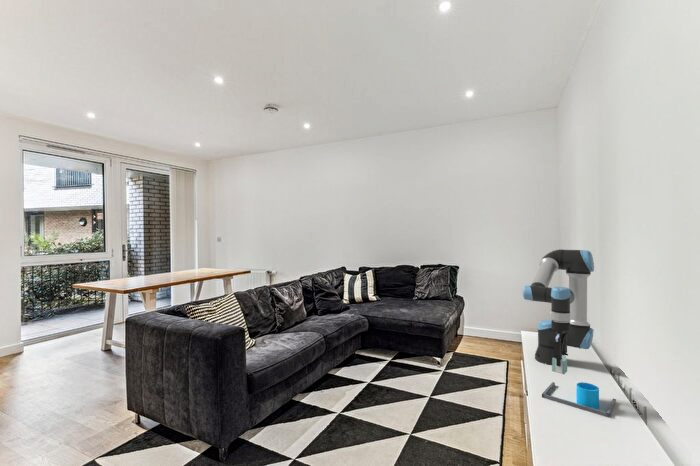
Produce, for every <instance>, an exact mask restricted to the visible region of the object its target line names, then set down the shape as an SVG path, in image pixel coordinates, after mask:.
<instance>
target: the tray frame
mask: <svg viewBox="0 0 700 466" xmlns="http://www.w3.org/2000/svg"><path fill="white" fill-rule="evenodd" d="M555 386H556V382H554V381H553V382H551V383H550V384H549V386H547V388H546V389H545V390H544V391H542V393H541V398H543V399H546V400H549V401H553V402H557V403H559V404H563V405H565V406H570V407H573V408H576V409H579V410H582V411H587V412H590V413H593V414H595V415H599V416H602V417H605V418H610V416H611V415H612V412H613V410H614V408H615V405H616V403H617V398H614V397H613V398H612V400H611V402H610V404H609V407H608V409H607V411H605V410H600V409H594V408H591V407H587V406H584V405H580V404H577V402H573V401H569V400H567V399H563V398H559V397H556V396H554V395H549V394H550V393H551V391H552V390H553V389H554V388H555Z"/></svg>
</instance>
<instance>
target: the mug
mask: <svg viewBox="0 0 700 466" xmlns="http://www.w3.org/2000/svg"><path fill="white" fill-rule="evenodd" d="M576 403H577V404H580V405H584V406H587V407H591V408H594V409H597V410H600V387H598V386H597V385H595V384H593V383H588V382H577V383H576Z"/></svg>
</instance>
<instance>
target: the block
mask: <svg viewBox="0 0 700 466" xmlns="http://www.w3.org/2000/svg"><path fill="white" fill-rule="evenodd" d="M562 359H563V373H562V374H561V373H559V374H561V375H565V374H566V373H567V372H568V358H567V357H566V358H563V357H562ZM551 372H554V373H557V372H556V367H555V358H552V365H551Z"/></svg>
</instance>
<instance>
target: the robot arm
mask: <svg viewBox="0 0 700 466" xmlns="http://www.w3.org/2000/svg"><path fill="white" fill-rule="evenodd" d="M560 270H563V271H565V273H566V275H568V287H565V286H552V287H549V285H550V284H551V281H552V279H553V276H554V273H555V272H557V271H560ZM594 271H595V263H594V257H593V254H592V251H589V250H588V249H587V250H585V249H561V248H560V249H555V250H552V251H550V252H548V253H546V254H545V255H543V257H542V258H541V260H540V261H539V268H538V270H537V272H536V274H535V277H534V279H533V280H532V282H531V283H530V284H529V285H524V286H523V288H522V297H523V299H524V300H526V301H530V302H540V303H549V304H551V309H550V310H551V311H550V313H549V314H550V315H551V318H550V319H543V320H540V321H539V322H538V324H537V343H538V344H537V348H536V350H535V352H534V359H535V361H537V362H539V363H541V364H545V363H546V365H549V364H551V366H552V358H555V367H556V372H555V373H556V374H557V373H558V374H560V373H561V375H563V374H562V373H563V359H562V357H563V358H567V356H568V357H569V353H568V347H571V348H577V349H583V350H588V349H590V348H591V346H592V342H593V338H594V328H592V327H591V324H590V322H588V321H587V320H588V278H589V277H590V276H591V272H592V273H593V272H594Z"/></svg>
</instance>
